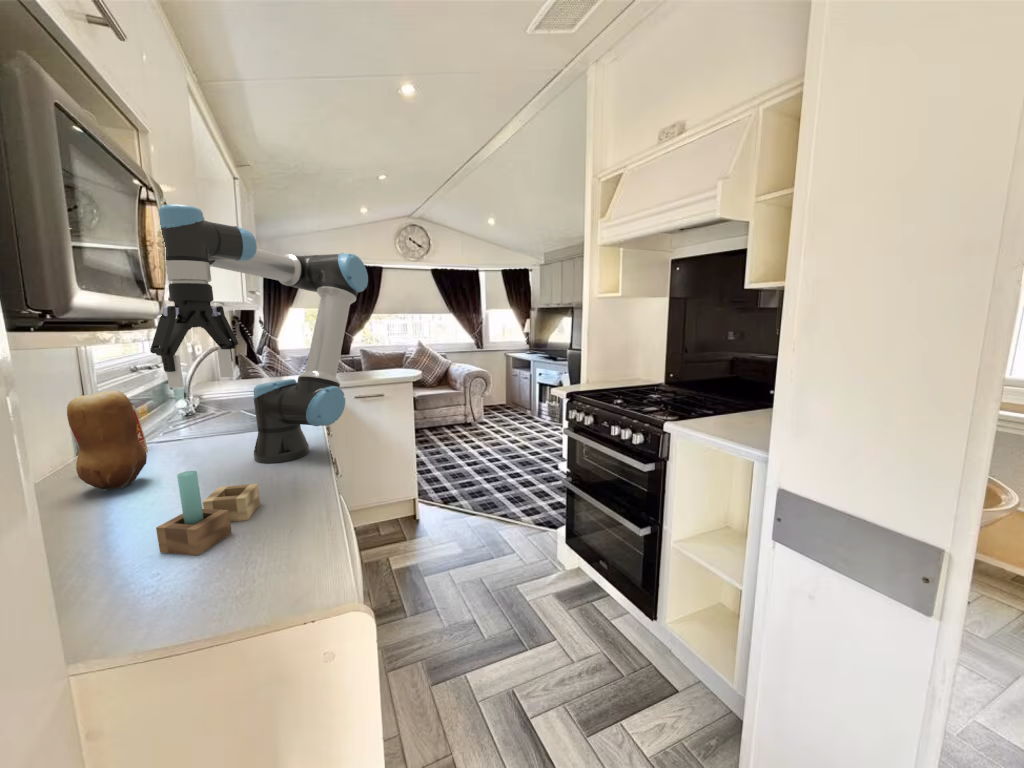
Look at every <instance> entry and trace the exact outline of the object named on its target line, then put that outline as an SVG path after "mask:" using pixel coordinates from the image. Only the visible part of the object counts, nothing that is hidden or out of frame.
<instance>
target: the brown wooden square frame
mask: <svg viewBox="0 0 1024 768" xmlns="http://www.w3.org/2000/svg"><path fill="white" fill-rule="evenodd" d="M202 511H203V518H204V519H203V520H202V521H200V522H198V523H196V524H195V525H191V524H184V518H183V513H181V514H179V515H177V516H175V517H173V518H172V519H169V520H168V521H166V522H164V523H162V524H160V525H158V526H156V527H155V531H156V536H157V543H158V550H159V553H160V552H164V553H163V554H173V555H174V554H176V555H188V556H200V555H201V554H203V553H204V552H206V551H207V550H209V549H211V548H212V547H214V546H215V545H216V544H218V543H220V542H221V541H222V540H224V539H225V538H227V537H228V536H229V534H230V535H232V532H233V531H232V527H231V525H232V524H231V522H230V517H229V510H218V509H204V508H202ZM226 536H227V537H226ZM223 538H224V539H223ZM220 540H221V541H220ZM217 542H218V543H217ZM214 544H215V545H214ZM211 546H212V547H211ZM208 548H209V549H208ZM205 550H206V551H205ZM202 552H203V553H202ZM199 554H200V555H199Z"/></svg>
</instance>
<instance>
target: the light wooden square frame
mask: <svg viewBox="0 0 1024 768" xmlns="http://www.w3.org/2000/svg"><path fill="white" fill-rule="evenodd" d="M202 505H203V506H202V509H218V510H229V517H230V521H233V522H241V521H248V520H249V519H250V518H251V517H252V515H253V514H254V513H255V512H256V510H257V509H258V508H259V506H260V505H261V498H260V490H259V483H249V484H248V483H247V484H238V485H226V486H218V487H217V488H216V489H215V490H214V491H213V492H211V493H210V495H209V496H207V497H206V498H205V499H204V500H203V501H202Z"/></svg>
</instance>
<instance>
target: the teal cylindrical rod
mask: <svg viewBox="0 0 1024 768" xmlns="http://www.w3.org/2000/svg"><path fill="white" fill-rule="evenodd" d="M177 482H178V491H179V496H180V504H181V508H182V509H181V510H182V514H183V518H184V524H191V525H195V524H196V523H198V522H200V521H202V520H203V519H204V518H203V511H202V509H203V506H202V505H203V503H202V498H201V492H200V485H199V476H198V472H197V470H187V471H184V472H180V473H178V474H177Z"/></svg>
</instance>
